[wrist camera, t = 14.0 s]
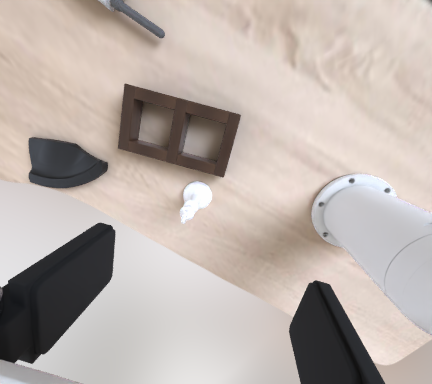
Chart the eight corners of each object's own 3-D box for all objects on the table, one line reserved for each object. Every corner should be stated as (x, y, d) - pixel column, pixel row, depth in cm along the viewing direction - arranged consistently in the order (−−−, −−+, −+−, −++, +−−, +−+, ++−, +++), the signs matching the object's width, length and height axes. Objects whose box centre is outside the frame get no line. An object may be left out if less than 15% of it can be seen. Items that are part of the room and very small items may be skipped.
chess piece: (215, 185, 35) (206, 207, 25) (208, 211, 36) (197, 241, 27) (187, 177, 35) (167, 196, 25) (181, 203, 36) (161, 230, 27)
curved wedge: (108, 195, 37) (102, 198, 36) (38, 181, 38) (29, 183, 36) (108, 149, 35) (102, 150, 33) (32, 135, 35) (23, 135, 34)
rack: (240, 116, 31) (241, 114, 28) (224, 173, 34) (223, 177, 31) (134, 87, 31) (124, 83, 28) (127, 146, 34) (117, 148, 31)
